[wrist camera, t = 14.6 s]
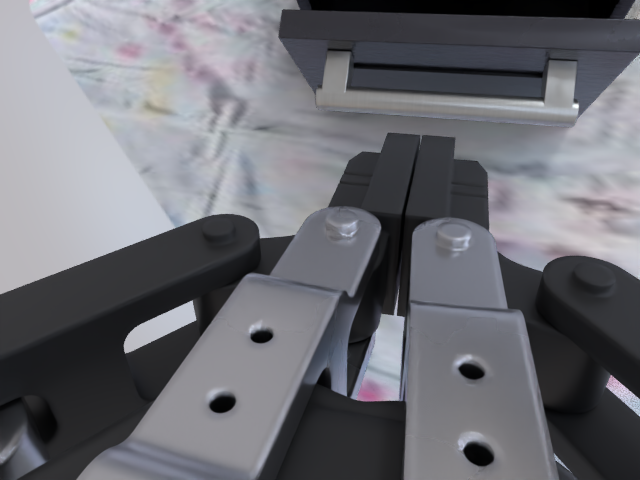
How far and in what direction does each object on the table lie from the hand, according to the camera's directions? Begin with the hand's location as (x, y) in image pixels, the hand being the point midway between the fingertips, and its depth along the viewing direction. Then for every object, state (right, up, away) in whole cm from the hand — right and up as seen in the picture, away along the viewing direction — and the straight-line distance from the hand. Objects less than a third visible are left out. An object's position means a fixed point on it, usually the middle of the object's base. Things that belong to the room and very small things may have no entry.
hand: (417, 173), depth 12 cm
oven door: (+7, +7, +27) cm, 29 cm away
